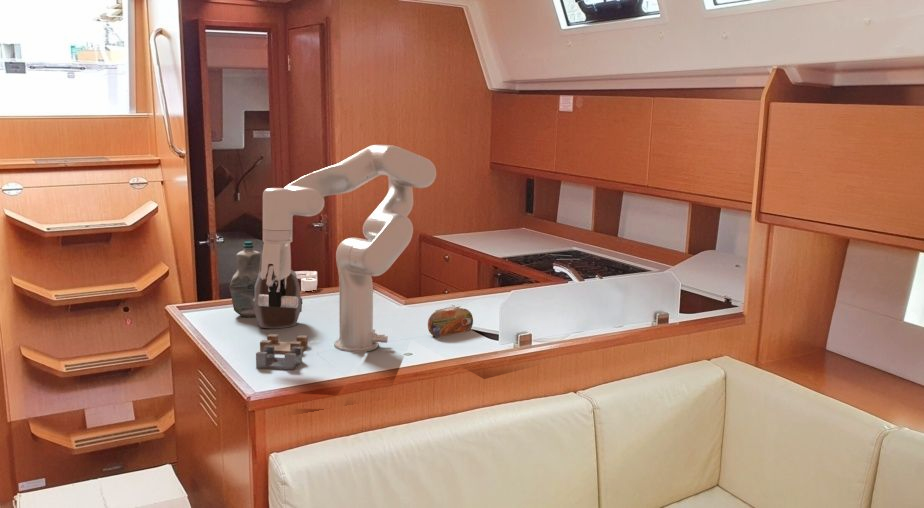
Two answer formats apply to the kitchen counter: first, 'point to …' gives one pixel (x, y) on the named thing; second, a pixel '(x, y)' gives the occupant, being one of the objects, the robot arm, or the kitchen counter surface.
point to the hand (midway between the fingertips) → (277, 304)
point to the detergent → (245, 280)
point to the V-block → (278, 359)
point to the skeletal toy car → (307, 280)
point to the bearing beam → (283, 344)
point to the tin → (450, 322)
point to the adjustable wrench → (448, 308)
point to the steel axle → (285, 301)
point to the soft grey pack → (277, 315)
